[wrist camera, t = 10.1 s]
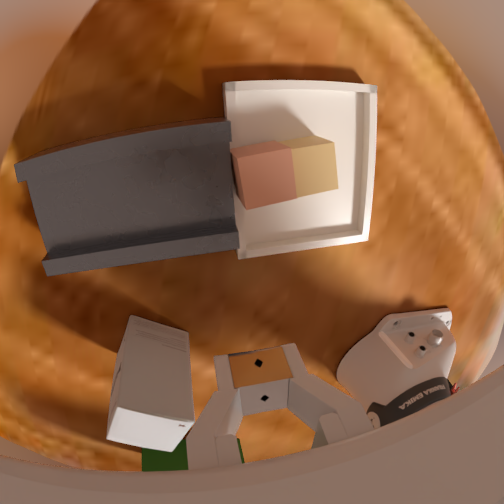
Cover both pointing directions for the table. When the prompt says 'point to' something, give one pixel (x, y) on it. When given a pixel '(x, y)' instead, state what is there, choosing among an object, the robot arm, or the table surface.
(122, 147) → the slot block
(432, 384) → the robot arm
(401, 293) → the table surface
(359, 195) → the tray
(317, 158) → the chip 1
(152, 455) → the hardback book
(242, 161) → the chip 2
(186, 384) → the supplement box
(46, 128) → the table surface
